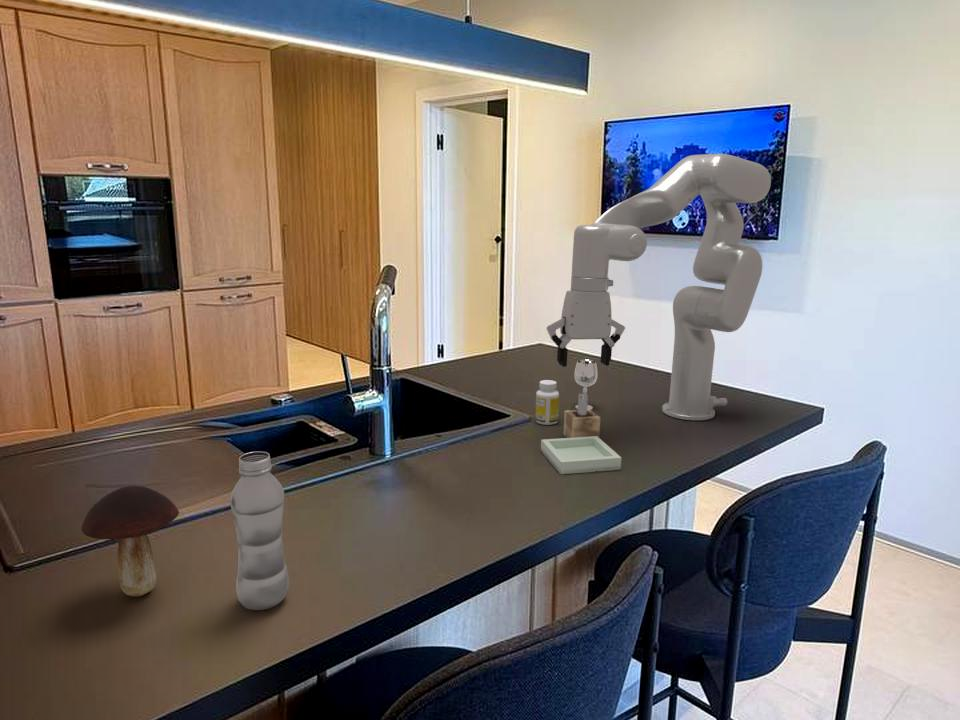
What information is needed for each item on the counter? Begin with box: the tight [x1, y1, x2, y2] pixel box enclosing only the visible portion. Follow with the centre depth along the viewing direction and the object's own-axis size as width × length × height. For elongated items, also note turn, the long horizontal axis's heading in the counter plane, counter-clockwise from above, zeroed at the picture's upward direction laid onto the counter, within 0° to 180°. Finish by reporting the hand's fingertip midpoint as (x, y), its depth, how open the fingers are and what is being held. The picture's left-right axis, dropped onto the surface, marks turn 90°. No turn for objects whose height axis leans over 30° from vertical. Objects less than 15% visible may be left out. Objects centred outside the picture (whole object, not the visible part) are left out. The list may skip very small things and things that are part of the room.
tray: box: [540, 436, 622, 475], centre depth 135 cm, size 12×12×2 cm
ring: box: [563, 409, 601, 438], centre depth 147 cm, size 6×8×6 cm
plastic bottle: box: [229, 450, 290, 611], centre depth 84 cm, size 6×7×20 cm
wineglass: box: [573, 359, 598, 410], centre depth 168 cm, size 6×6×12 cm
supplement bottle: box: [535, 379, 560, 426], centre depth 157 cm, size 5×5×10 cm
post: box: [577, 392, 589, 417], centre depth 146 cm, size 2×2×10 cm
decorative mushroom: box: [80, 485, 180, 598], centre depth 86 cm, size 11×11×15 cm
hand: (583, 364), depth 143 cm, fingers open, 9 cm apart
